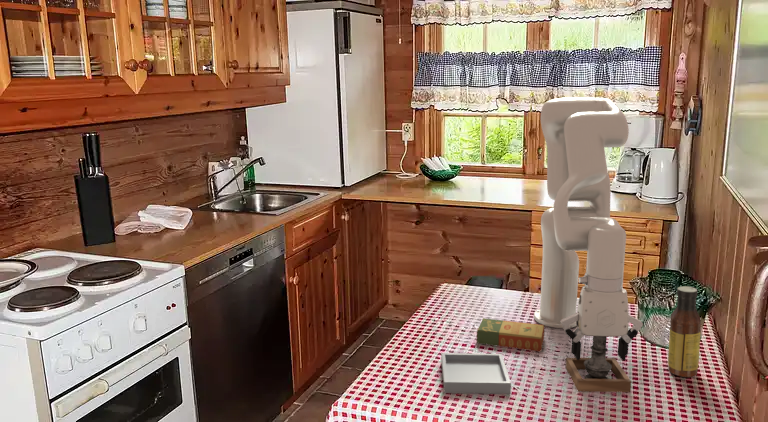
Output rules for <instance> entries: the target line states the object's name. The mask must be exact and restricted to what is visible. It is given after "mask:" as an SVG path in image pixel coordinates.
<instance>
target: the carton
mask: <svg viewBox="0 0 768 422" xmlns="http://www.w3.org/2000/svg"><path fill="white" fill-rule="evenodd" d="M545 327H546V326H545V325H542V324H540V323H531V322H530V323H528V322H520V321H511V320H503V319H501V320H500V319H493V318H486V317H482V320H481V321H480V324H479V326H478V328H477V330H476V344H480V345H486V344H488V345H489V346H494V345H497V346H496V347H502V346H504V348H509V347H511V348H510V349H517V348H518V349H519V350H525V351H526V350H527V351H535V352H542V348H543V343H544V341H545V340H544V339H545ZM488 345H487V346H488ZM518 349H517V350H518Z"/></svg>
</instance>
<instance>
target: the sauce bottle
mask: <svg viewBox="0 0 768 422" xmlns="http://www.w3.org/2000/svg"><path fill="white" fill-rule="evenodd" d="M676 295H677V300H676V301H677V303H676V308H675V309H674V310H673V311H672V313H671V314H670V327H669V338H668V353H667V354H668V355H667V368H668V370H669V372H670V373H671V374H672V375H674V376H677V377H680V378H694V377H696V376H697V375H698V372H699V371H698V369H699V367H700V366H699V363H700V347H701V346H700V345H701V321H702V320H701V317H700V315H699V312H698V309H697V297H698V289H697V288H696V287H691V286H689V285H688V286H679V287H677V290H676Z"/></svg>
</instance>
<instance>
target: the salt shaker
mask: <svg viewBox="0 0 768 422" xmlns="http://www.w3.org/2000/svg"><path fill="white" fill-rule="evenodd" d="M607 338H608V337H600V336H592V345H591V346H590V348H589V349H590V350H591V354H590V355H591V356H590V357H589V358H590V359H588V360H586V361H585V362H584V365H585V369H586V370H585V371H586V373H587V374H585V375H584V376H583V377H584V378H583V379H609V378H608V375H609V374H610V372H611V368H612V365H611V364H610V363H609V362H607V361H606V358H607V355H606V353H607V352H608V348H607Z"/></svg>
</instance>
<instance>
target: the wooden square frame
mask: <svg viewBox="0 0 768 422" xmlns="http://www.w3.org/2000/svg"><path fill="white" fill-rule="evenodd" d="M590 358H591V357H580V359H579V360H577V359H576V358H575V357H566V358H565V369H566V371H567V373H568V374H569V377H570V379H571V380H572V382H573V385H574V386H575V388H576V391H577V390H578V391H577V392H580V391H582V392H588V393H591V392H592V393H594V392H595V393H596V392H597V393H598V392H599V393H631V389H632V381H631V379H630V377H629V376H628V375H627V373H626V372H625V370H624V369H623V367H622V366H621V365H620V364H619V362H618V360H617V359H616V358H614V357H610V358H609V357H606V361H607V362H609V363H610V364H611V365H612V368H611V370H610V372H612V374H613V376H614V377H615V378H608V379H584V378H583V377H582V375H581V374H580V372H579V371H586V369H585V365H584V362H585V361H586V360H588V359H590Z"/></svg>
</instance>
